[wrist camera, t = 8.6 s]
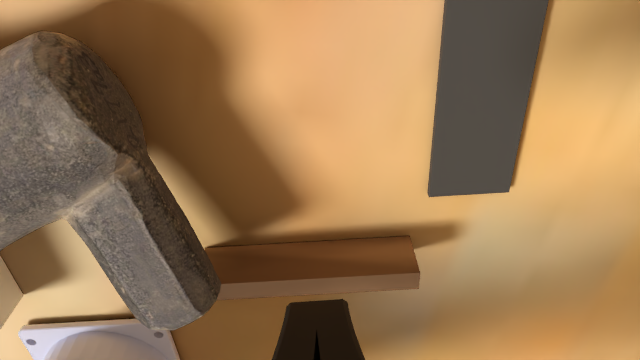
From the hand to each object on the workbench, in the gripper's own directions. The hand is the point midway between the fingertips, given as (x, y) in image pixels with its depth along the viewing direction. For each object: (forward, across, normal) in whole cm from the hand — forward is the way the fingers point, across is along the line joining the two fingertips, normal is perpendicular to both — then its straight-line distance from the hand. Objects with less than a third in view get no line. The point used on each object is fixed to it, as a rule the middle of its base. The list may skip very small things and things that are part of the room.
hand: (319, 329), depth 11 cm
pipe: (+7, +6, -1) cm, 9 cm away
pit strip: (+10, -7, -2) cm, 12 cm away
